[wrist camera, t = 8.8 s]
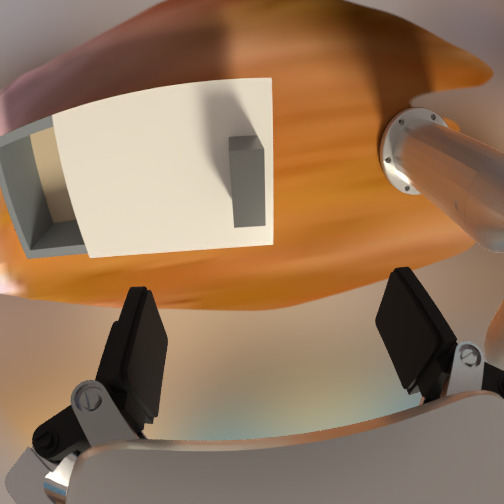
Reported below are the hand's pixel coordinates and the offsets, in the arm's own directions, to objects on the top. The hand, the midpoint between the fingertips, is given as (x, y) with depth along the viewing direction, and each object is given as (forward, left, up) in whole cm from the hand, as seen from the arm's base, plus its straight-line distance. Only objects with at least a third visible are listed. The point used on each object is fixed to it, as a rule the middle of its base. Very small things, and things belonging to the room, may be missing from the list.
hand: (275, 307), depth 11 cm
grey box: (+13, +13, -26) cm, 32 cm away
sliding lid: (+6, +6, -17) cm, 19 cm away
